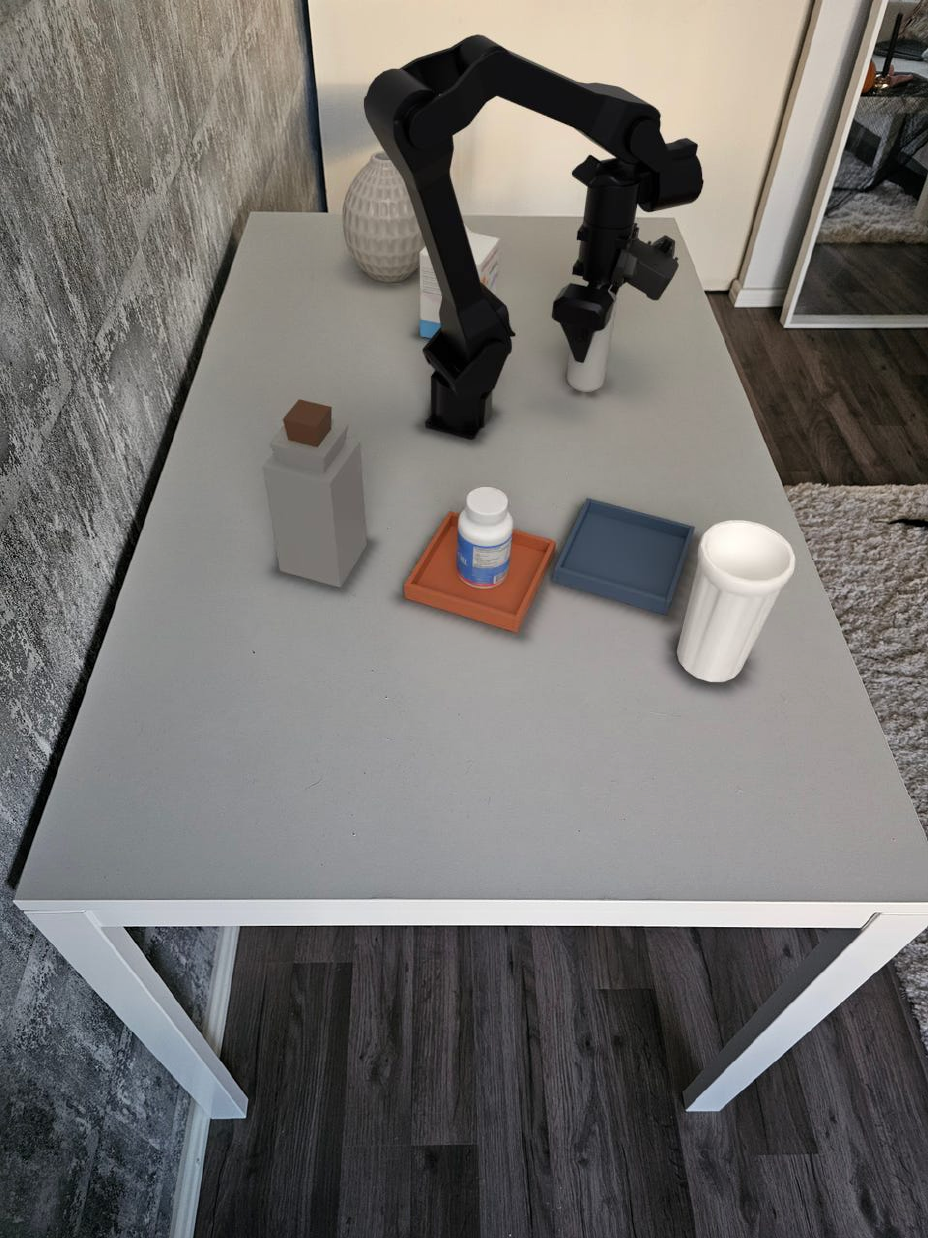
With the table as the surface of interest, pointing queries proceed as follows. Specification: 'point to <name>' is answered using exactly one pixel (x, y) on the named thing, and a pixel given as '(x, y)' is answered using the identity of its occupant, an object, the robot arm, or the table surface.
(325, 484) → the perfume bottle
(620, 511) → the slate tray
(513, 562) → the terracotta tray
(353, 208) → the vase
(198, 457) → the table surface
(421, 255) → the ink box
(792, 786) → the table surface
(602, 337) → the beverage can
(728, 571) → the cup
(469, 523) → the pill bottle
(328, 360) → the table surface
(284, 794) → the table surface
